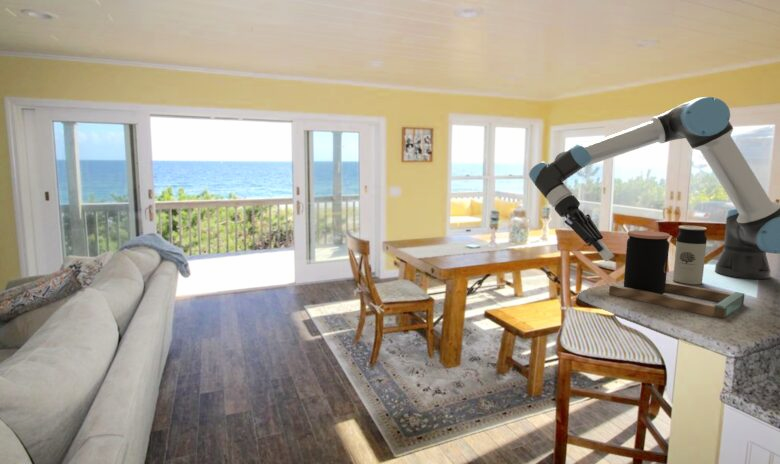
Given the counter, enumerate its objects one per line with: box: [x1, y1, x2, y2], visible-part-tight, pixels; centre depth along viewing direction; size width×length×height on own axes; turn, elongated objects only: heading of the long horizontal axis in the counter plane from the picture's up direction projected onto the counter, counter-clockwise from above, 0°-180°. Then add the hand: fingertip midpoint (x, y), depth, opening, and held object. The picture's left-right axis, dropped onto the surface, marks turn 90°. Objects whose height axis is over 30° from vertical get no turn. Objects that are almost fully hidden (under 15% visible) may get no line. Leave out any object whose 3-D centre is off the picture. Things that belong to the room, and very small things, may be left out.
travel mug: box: [672, 225, 708, 286], centre depth 145 cm, size 8×8×18 cm
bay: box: [608, 281, 746, 319], centre depth 127 cm, size 28×18×3 cm, turn 40°
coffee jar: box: [623, 230, 671, 295], centre depth 132 cm, size 11×11×18 cm
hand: (609, 258), depth 140 cm, fingers closed
